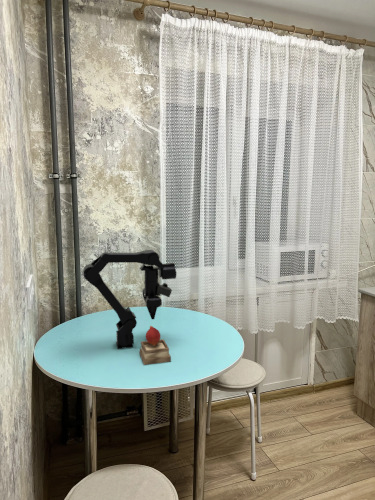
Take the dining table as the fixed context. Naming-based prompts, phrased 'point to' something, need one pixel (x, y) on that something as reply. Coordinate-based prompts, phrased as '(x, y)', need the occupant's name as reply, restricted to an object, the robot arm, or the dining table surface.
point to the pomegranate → (153, 335)
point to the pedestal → (154, 352)
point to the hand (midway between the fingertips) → (151, 315)
